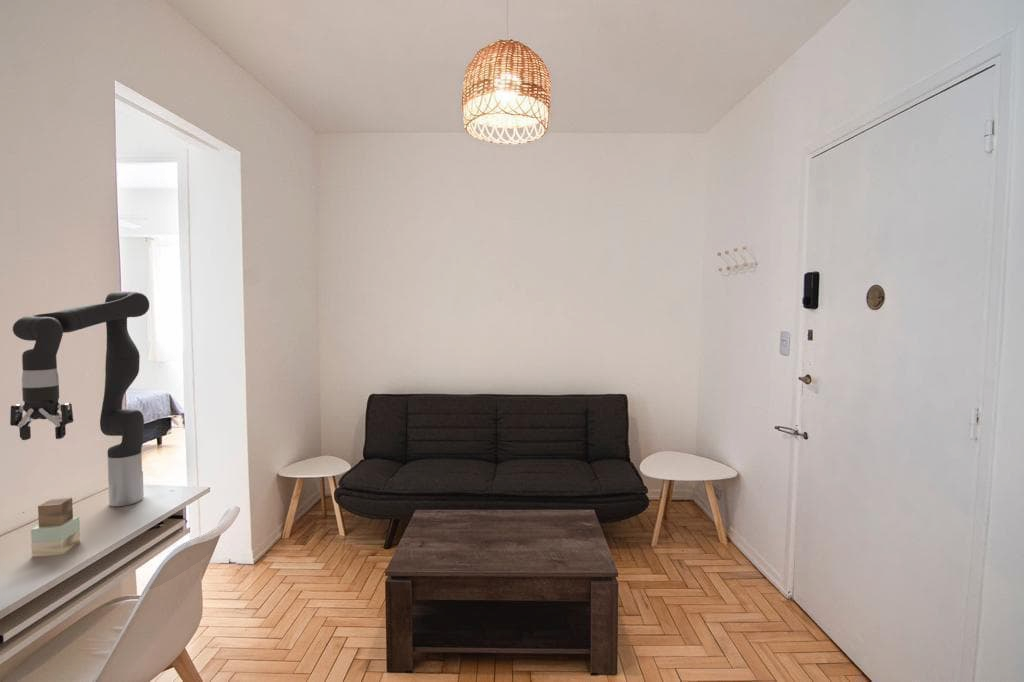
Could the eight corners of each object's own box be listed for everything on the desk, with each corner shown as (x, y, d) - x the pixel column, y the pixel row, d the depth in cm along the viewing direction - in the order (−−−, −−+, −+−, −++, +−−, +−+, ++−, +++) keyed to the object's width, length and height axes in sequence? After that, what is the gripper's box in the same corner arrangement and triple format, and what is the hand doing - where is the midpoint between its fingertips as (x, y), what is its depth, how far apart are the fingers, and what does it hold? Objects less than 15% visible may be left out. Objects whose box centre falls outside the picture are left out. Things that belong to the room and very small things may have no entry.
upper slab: (51, 531, 133) (51, 518, 132) (79, 529, 134) (79, 516, 134) (31, 543, 126) (31, 529, 126) (61, 541, 127) (60, 527, 127)
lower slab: (52, 544, 133) (51, 531, 133) (80, 542, 134) (79, 529, 134) (32, 557, 126) (31, 543, 126) (61, 555, 127) (61, 541, 127)
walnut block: (52, 519, 132) (51, 499, 131) (72, 517, 133) (72, 497, 132) (38, 527, 127) (37, 506, 126) (60, 525, 128) (59, 504, 128)
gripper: (78, 382, 139) (80, 434, 140) (23, 383, 136) (25, 436, 137) (58, 386, 132) (61, 441, 132) (0, 387, 129) (2, 443, 130)
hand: (43, 438), depth 135 cm, fingers open, 8 cm apart
